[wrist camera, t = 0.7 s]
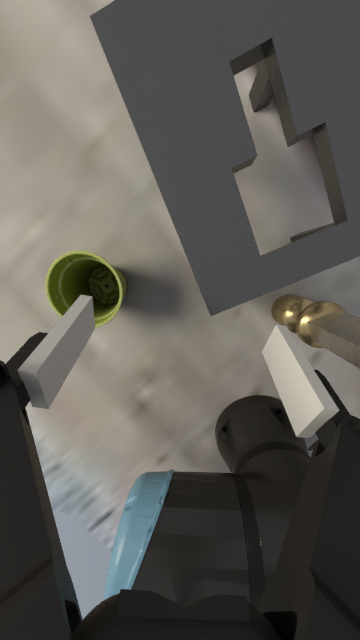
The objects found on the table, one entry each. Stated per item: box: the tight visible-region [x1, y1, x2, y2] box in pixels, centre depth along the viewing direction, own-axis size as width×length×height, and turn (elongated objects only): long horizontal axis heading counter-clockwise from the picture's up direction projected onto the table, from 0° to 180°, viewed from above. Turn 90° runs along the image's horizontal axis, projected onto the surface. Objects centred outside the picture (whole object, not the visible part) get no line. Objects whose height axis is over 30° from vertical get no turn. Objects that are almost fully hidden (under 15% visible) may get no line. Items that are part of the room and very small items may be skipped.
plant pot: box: [46, 251, 127, 327], centre depth 30 cm, size 9×9×9 cm
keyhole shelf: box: [90, 0, 360, 316], centre depth 23 cm, size 22×18×16 cm
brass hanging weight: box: [272, 295, 360, 368], centre depth 25 cm, size 6×6×20 cm
